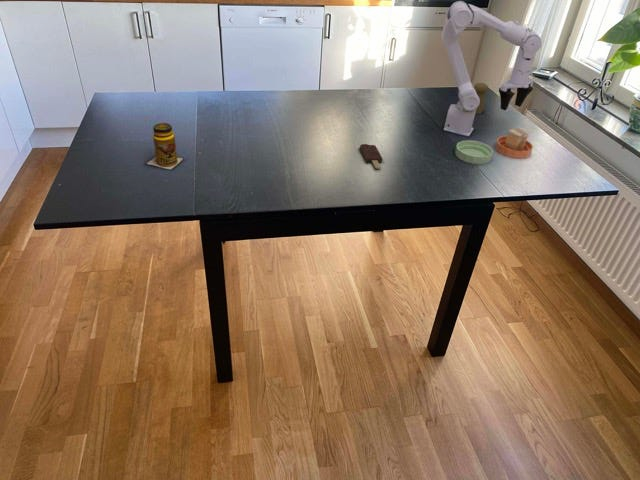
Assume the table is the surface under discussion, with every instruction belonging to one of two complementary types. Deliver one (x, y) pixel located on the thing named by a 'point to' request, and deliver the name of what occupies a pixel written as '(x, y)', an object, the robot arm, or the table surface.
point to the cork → (480, 95)
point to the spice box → (516, 139)
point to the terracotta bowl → (512, 153)
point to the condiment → (164, 147)
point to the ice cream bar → (371, 154)
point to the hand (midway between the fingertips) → (510, 107)
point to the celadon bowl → (473, 152)
